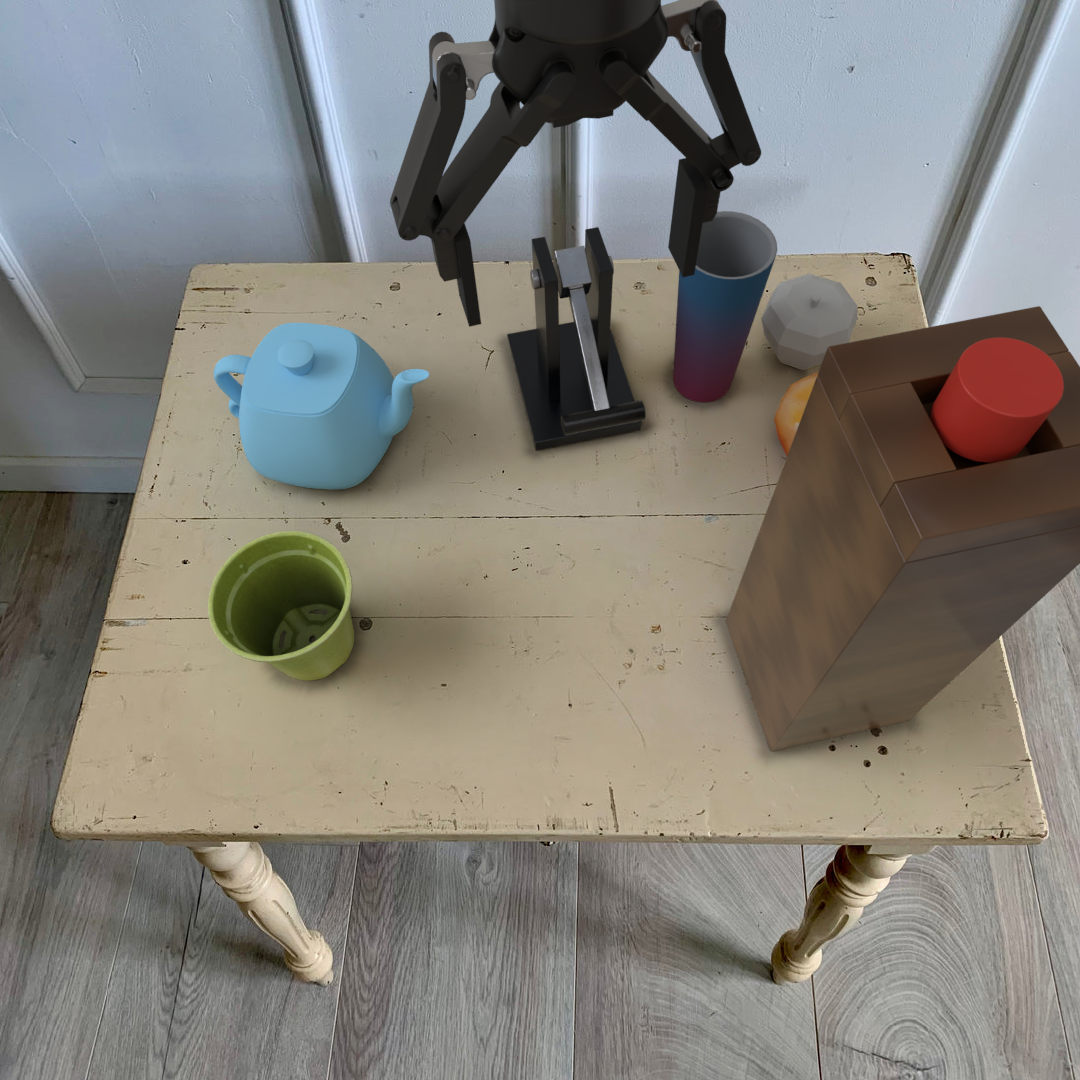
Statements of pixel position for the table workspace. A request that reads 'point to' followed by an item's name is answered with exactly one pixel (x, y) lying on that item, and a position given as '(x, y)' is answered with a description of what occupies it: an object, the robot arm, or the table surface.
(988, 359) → the button
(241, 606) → the plant pot
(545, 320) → the bracket
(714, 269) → the cup
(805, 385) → the fruit
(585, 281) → the lever
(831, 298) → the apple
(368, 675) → the table surface
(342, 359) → the teapot
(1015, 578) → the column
